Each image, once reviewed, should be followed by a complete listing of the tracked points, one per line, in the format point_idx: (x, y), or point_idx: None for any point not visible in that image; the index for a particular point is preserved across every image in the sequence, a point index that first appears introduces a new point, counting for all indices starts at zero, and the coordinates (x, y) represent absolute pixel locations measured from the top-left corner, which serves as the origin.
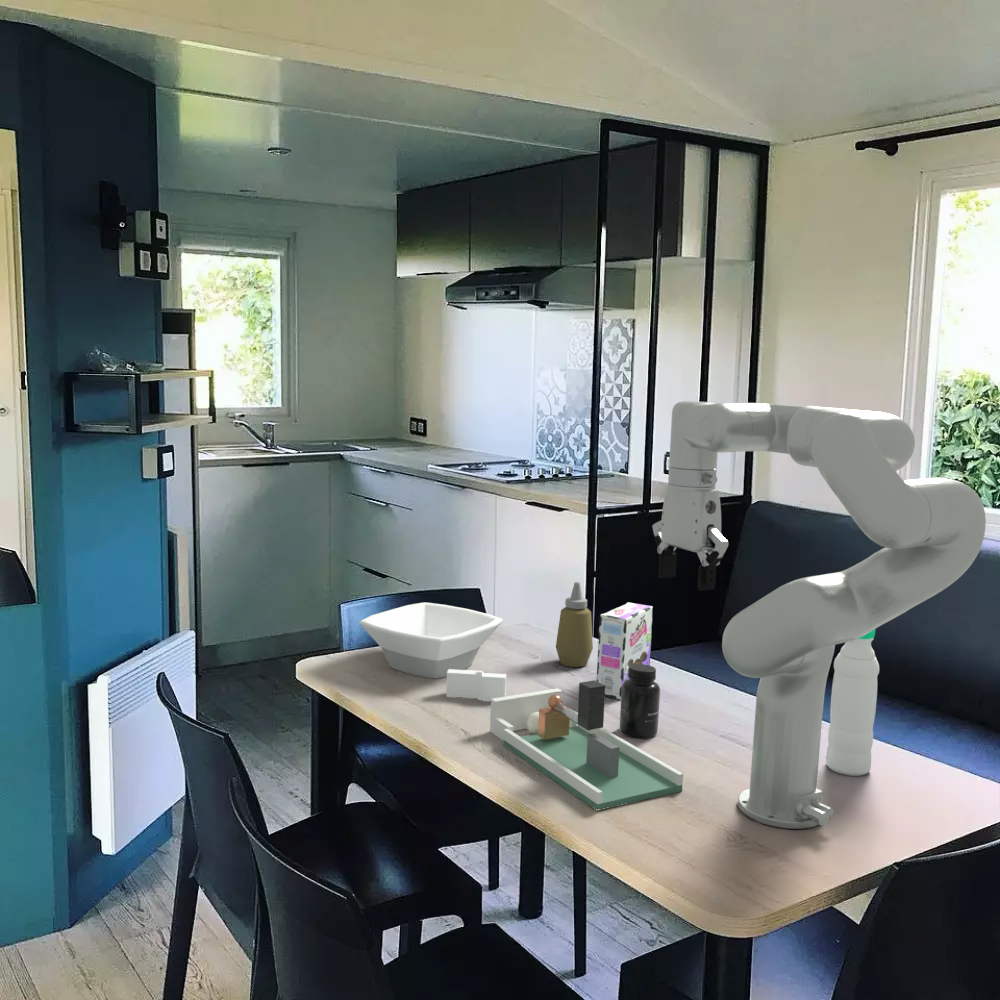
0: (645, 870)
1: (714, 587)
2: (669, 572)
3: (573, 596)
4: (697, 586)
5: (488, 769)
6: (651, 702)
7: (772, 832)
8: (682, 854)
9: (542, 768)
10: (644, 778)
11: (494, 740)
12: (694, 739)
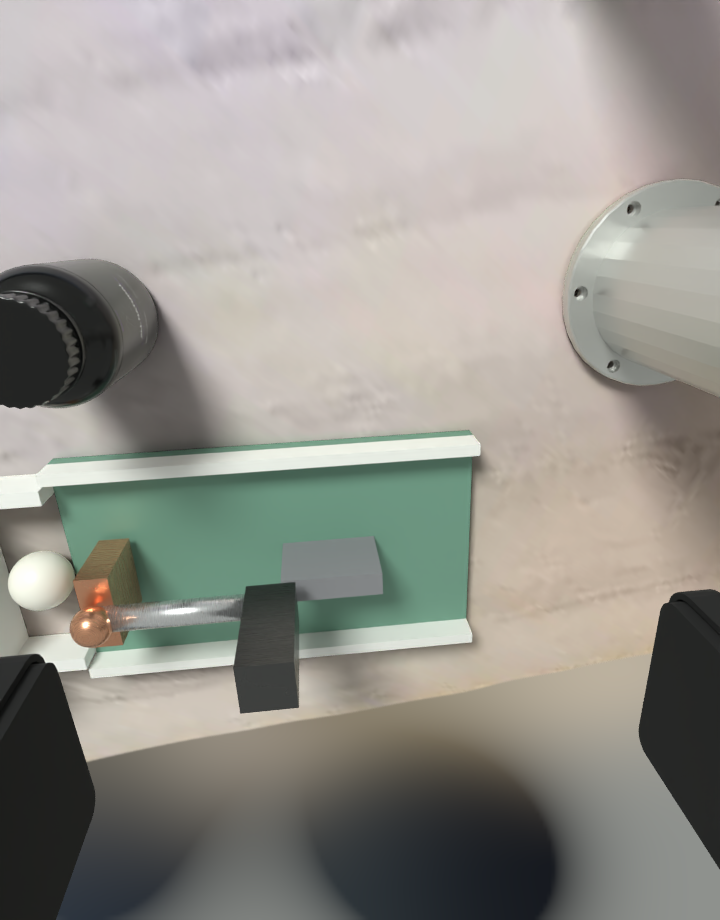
0: None
1: (715, 597)
2: (50, 769)
3: None
4: (651, 762)
5: (219, 712)
6: (130, 334)
7: None
8: (659, 571)
9: None
10: (407, 491)
11: None
12: (200, 182)
